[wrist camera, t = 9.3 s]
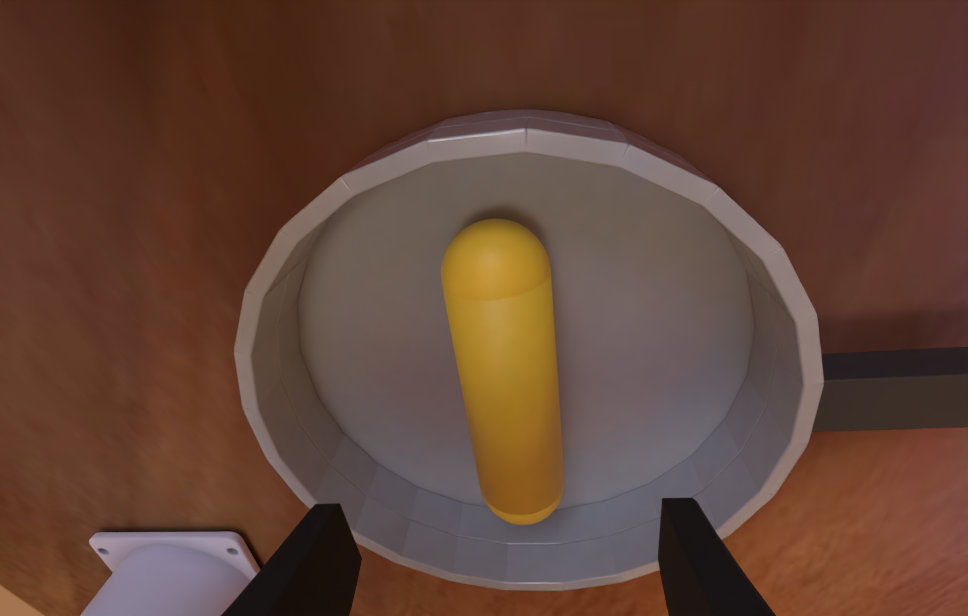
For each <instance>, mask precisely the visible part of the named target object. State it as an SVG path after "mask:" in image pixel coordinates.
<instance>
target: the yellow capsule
mask: <svg viewBox="0 0 968 616" xmlns="http://www.w3.org/2000/svg"><path fill="white" fill-rule="evenodd" d="M441 281H442V282H441V283H442V288H443V294H444V299H445V304H446V309H447V315H448V320H449V325H450V331H451V336H452V341H453V347H454V352H455V357H456V363H457V368H458V373H459V378H460V384H461V389H462V394H463V400H464V405H465V410H466V416H467V421H468V426H469V432H470V437H471V442H472V448H473V453H474V458H475V463H476V469H477V474H478V479H479V485H480V490H481V493H482V496H483V498H484V501H485V502H486V504H487V505H488V507H489V508H490V509H491V511H492V512H493V513H494V514H495V515H497V516H498V517H499V518H501V519H503V520H504V521H506V522H509V523H512V524H516V525H530V524H535V523H537V522H540V521H542V520H543V519H545V518H547V517H548V516H549V515H550V514H551V513H552V512H553V511H554V510H555V509H556V507H557V506H558V504H559V502H560V500H561V497H562V495H563V491H564V482H565V478H564V463H563V448H562V433H561V418H560V403H559V388H558V373H557V358H556V343H555V327H554V312H553V297H552V282H551V268H550V263H549V258H548V255H547V253H546V250H545V248H544V247H543V245H542V244H541V242H540V241H539V239H538V238H537V237H536V236H535V235H534V234H533V233H532V232H531V231H530V230H529V229H527V228H526V227H524V226H522V225H520V224H519V223H516V222H513V221H509V220H506V219H486V220H482V221H478V222H475V223H473V224H471V225H470V226H468V227H466V228H464V229H463V230H462V231H461V232H459V233H458V234H457V235H456V236H455V237H454V239H453V240H452V241H451V243H450V244H449V246H448V247H447V249H446V252H445V255H444V258H443V260H442V266H441Z"/></svg>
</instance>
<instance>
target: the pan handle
mask: <svg viewBox="0 0 968 616" xmlns="http://www.w3.org/2000/svg"><path fill="white" fill-rule="evenodd" d="M821 355H822V365H823V375H824V383H823V384H824V387H823V390H822V394H821V398H820V402H819V405H818V409H817V413H816V417H815V421H814V424H813V428H812V432H825V431H858V430H890V429H922V428H955V427H968V347H953V348H934V349H914V350H895V351H875V352H856V353H836V354H821Z"/></svg>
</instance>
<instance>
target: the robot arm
mask: <svg viewBox="0 0 968 616" xmlns="http://www.w3.org/2000/svg"><path fill="white" fill-rule="evenodd" d="M89 543H90V545H91V546H92V548H93V549H94V550H95V551H96V553H97V554H98V555H99V556H100V557H101V559H102V560H103V561H104V562H105V564H106V565H107V566H108V567H109V569H110V570H111V571H112V572H113V574H112V575H111V576H110V578H109V579H108V580H107V581H106V583H105V584H104V585H103V587H102V588H101V589H100V590H99V592H98V593H97V594H96V596H95V597H94V598H93V599H92V601H91V602H90V603H89V605H88V606H87V607H86V608H85V610H84V611H83V612H82V614H81V615H80V616H349V613H350V610H351V607H352V603H353V598H354V594H355V590H356V585H357V580H358V575H359V570H360V565H361V560H362V558H361V555H360V553H359V550H358V547H357V545H356V542H355V540H354V537H353V535H352V532H351V530H350V527H349V525H348V522H347V520H346V517H345V514H344V512H343V509H342V507H341V504H340V503H330V504H315V505H314V506H313V507H312V508H311V509H310V511H309V512H308V513H307V514H306V515H305V517H304V518H303V519H302V520H301V521H300V523H299V524H298V525H297V526H296V528H295V529H294V530H293V531H292V532H291V534H290V535H289V536H288V537H287V539H286V540H285V541H284V542H283V543H282V545H281V546H280V547H279V548H278V550H277V551H276V552H275V553H274V554H273V556H272V557H271V558H270V559H269V560H268V562H267V563H266V564H265V565H264V566H263V568H262V569H261V570H260V568H259V566H258V564H257V563H256V561H255V559H254V557H253V556H252V554H251V552H250V550H249V549H248V547H247V545H246V543H245V542H244V540H243V538H242V537H241V536H240V535H239V534H238V533H235V532H230V531H222V532H99V533H95V534H94V535H93V536H92V538H91V539H90V540H89ZM658 563H659V568H660V574H661V579H662V584H663V589H664V594H665V599H666V604H667V609H668V613H669V616H776V615H775V614H774V612H773V611H772V610H771V608H770V607H769V606H768V604H767V603H766V602H765V600H764V599H763V598H762V596H761V595H760V594H759V592H758V591H757V590H756V588H755V587H754V586H753V584H752V583H751V582H750V580H749V579H748V578H747V576H746V575H745V573H744V572H743V571H742V569H741V568H740V566H739V565H738V564H737V562H736V561H735V559H734V558H733V556H732V555H731V553H730V552H729V550H728V549H727V548H726V546H725V545H724V543H723V542H722V540H721V539H720V537H719V536H718V534H717V533H716V531H715V530H714V528H713V526H712V525H711V523H710V522H709V520H708V519H707V517H706V515H705V514H704V512H703V510H702V509H701V507H700V505H699V504H698V502H697V501H696V500H695V499H693V498H662V506H661V519H660V533H659V546H658Z"/></svg>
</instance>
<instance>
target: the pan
mask: <svg viewBox="0 0 968 616" xmlns="http://www.w3.org/2000/svg"><path fill="white" fill-rule="evenodd" d="M486 219H506V220H509V221H513V222H516V223H519V224H520V225H522V226H524V227H526V228H527V229H529V230H530V231H531V232H532V233H533V234H534V235H535V236H536V237H537V238H538V239H539V241H540V242H541V244H542V245H543V247H544V248H545V250H546V253H547V255H548V258H549V263H550V268H551V282H552V297H553V312H554V327H555V343H556V358H557V373H558V388H559V403H560V418H561V433H562V448H563V463H564V478H565V482H564V491H563V495H562V497H561V500H560V502H559V504H558V506H557V507H556V509H555V510H554V511H553V512H552V513H551V514H550V515H549V516H548V517H547V518H545V519H543V520H542V521H540V522H537V523H535V524H530V525H516V524H512V523H509V522H506V521H504V520H503V519H501V518H499V517H498V516H497V515H495V514H494V513H493V512H492V511H491V509H490V508H489V507H488V505H487V504H486V502H485V501H484V498H483V496H482V493H481V490H480V485H479V479H478V474H477V469H476V463H475V458H474V453H473V448H472V442H471V437H470V432H469V426H468V421H467V416H466V410H465V405H464V400H463V394H462V389H461V384H460V378H459V373H458V368H457V363H456V357H455V352H454V347H453V341H452V336H451V331H450V325H449V320H448V315H447V309H446V304H445V299H444V294H443V288H442V283H441V282H442V281H441V266H442V260H443V258H444V255H445V252H446V249H447V247H448V246H449V244H450V243H451V241H452V240H453V239H454V237H455V236H456V235H457V234H458V233H459V232H461V231H462V230H463V229H464V228H466V227H468V226H470V225H471V224H473V223H475V222H478V221H482V220H486ZM234 357H235V363H236V370H237V376H238V383H239V390H240V396H241V403H242V408H243V411H244V413H245V415H246V417H247V419H248V422H249V424H250V426H251V428H252V430H253V432H254V434H255V436H256V438H257V440H258V443H259V445H260V447H261V449H262V451H263V453H264V455H265V457H266V459H267V460H268V462H269V463H270V464H271V465H272V467H273V468H274V469H275V470H276V472H277V473H278V474H279V475H280V476H281V478H282V479H283V480H284V481H285V482H286V484H287V485H288V486H289V487H290V488H291V490H292V491H293V492H294V493H295V494H296V496H297V497H298V498H299V499H300V500H301V501H302V502H303V504H305V505H306V506H307V507H309V508H310V509H311V508H312V507H313V506H314V505H315V504H330V503H340V504H341V507H342V509H343V512H344V514H345V517H346V520H347V522H348V525H349V527H350V530H351V532H352V535H353V537H354V540H355V542H356V543H358V544H360V545H362V546H364V547H366V548H367V549H369V550H371V551H373V552H375V553H377V554H379V555H381V556H383V557H385V558H386V559H388V560H390V561H392V562H394V563H397V564H400V565H403V566H406V567H409V568H412V569H415V570H418V571H421V572H424V573H427V574H430V575H433V576H436V577H439V578H442V579H445V580H450V581H452V582H458V583H464V584H470V585H476V586H482V587H488V588H494V589H500V590H521V591H563V590H564V591H567V590H574V589H581V588H588V587H594V586H601V585H608V584H615V583H620V582H625V581H628V580H631V579H634V578H637V577H640V576H643V575H646V574H649V573H652V572H655V571H659V570H660V568H659V563H658V546H659V533H660V519H661V506H662V498H693V499H695V500H696V501H697V502H698V504H699V505H700V507H701V509H702V510H703V512H704V514H705V515H706V517H707V519H708V520H709V522H710V523H711V525H712V526H713V528H714V530H715V531H716V533H717V534H718V536H719V537H720V539H721V540H723V539H724V538H726V537H728V536H729V535H731V534H732V533H733V532H734V531H736V530H737V529H738V528H739V527H740V526H741V525H742V524H743V523H745V522H746V521H747V520H748V519H749V518H750V517H751V516H752V515H754V514H755V513H756V512H757V511H758V510H759V509H760V508H761V507H763V506H764V505H765V504H766V503H767V502H768V501H769V500H770V499H772V498H773V497H774V495H775V494H776V493H777V491H778V490H779V488H780V487H781V485H782V484H783V482H784V481H785V479H786V478H787V476H788V475H789V473H790V472H791V470H792V469H793V467H794V465H795V464H796V462H797V461H798V459H799V458H800V456H801V455H802V453H803V452H804V450H805V449H806V447H807V444H808V443H809V439H810V436H811V432H812V428H813V424H814V421H815V417H816V413H817V409H818V405H819V402H820V398H821V394H822V390H823V387H824V384H823V383H824V375H823V365H822V355H821V346H820V336H819V326H818V316H817V313H816V311H815V309H814V307H813V305H812V303H811V301H810V299H809V297H808V295H807V293H806V291H805V289H804V287H803V285H802V283H801V281H800V279H799V277H798V275H797V274H796V272H795V270H794V268H793V266H792V264H791V262H790V260H789V258H788V256H787V254H786V252H785V250H784V248H783V247H782V246H781V244H780V243H779V242H778V241H777V240H776V239H775V238H773V237H772V236H771V235H770V234H769V233H768V232H767V231H766V230H765V229H764V228H763V227H762V226H761V225H760V224H758V223H757V222H756V221H755V220H754V219H753V218H752V217H751V216H750V215H749V214H748V213H747V212H746V211H745V210H743V209H742V208H741V207H740V206H739V205H738V204H737V203H736V202H735V201H734V200H733V199H732V198H731V197H730V196H729V195H727V194H726V193H725V192H724V191H723V190H722V189H721V188H720V187H719V186H717V185H716V184H715V183H714V182H713V181H711V180H710V179H709V178H708V177H706V176H705V175H704V174H703V173H701V172H700V171H699V170H698V169H696V168H695V167H694V166H693V165H691V164H690V163H689V162H688V161H687V160H685V159H684V158H683V157H682V156H680V155H679V154H677V153H675V152H673V151H671V150H668V149H666V148H664V147H662V146H660V145H658V144H656V143H654V142H652V141H651V140H649V139H647V138H645V137H644V136H642V135H639V134H637V133H634V132H632V131H629V130H627V129H624V128H622V127H620V126H618V125H616V124H614V123H612V122H607V121H605V120H599V119H593V118H589V117H585V116H580V115H576V114H572V113H567V112H556V111H544V110H535V109H518V110H502V111H487V112H482V113H477V114H472V115H467V116H462V117H454V118H449V119H448V120H447V119H445V120H443V121H440V122H438V123H436V124H433V125H431V126H428V127H425V128H423V129H420V130H417V131H415V132H413V133H411V134H409V135H407V136H405V137H403V138H401V139H399V140H396V141H394V142H392V143H390V144H387V145H385V146H383V147H380V148H379V149H378V150H376V151H374V152H373V153H372V154H370V155H369V156H368V157H366V158H365V159H363V160H362V161H361V162H359V163H358V164H357V165H355V166H354V167H353V168H351V169H350V170H348V171H347V172H346V173H344V174H343V175H342V176H340V177H339V178H338V179H337V180H336V181H334V182H333V183H332V184H331V185H330V186H329V187H327V188H326V189H325V190H324V191H323V192H322V193H320V194H319V195H318V196H317V197H316V198H315V199H313V200H312V201H311V202H310V203H309V204H308V205H307V206H305V207H304V208H303V209H302V210H301V211H300V212H298V213H297V214H296V215H295V216H294V217H293V218H291V219H290V220H289V221H288V222H287V223H286V224H284V225H283V226H282V227H281V229H280V230H279V231H278V233H277V234H276V236H275V238H274V240H273V241H272V243H271V245H270V247H269V248H268V250H267V252H266V253H265V255H264V257H263V259H262V260H261V262H260V264H259V266H258V267H257V269H256V271H255V272H254V274H253V276H252V278H251V279H250V281H249V283H248V285H247V286H246V290H245V291H244V297H243V302H242V308H241V313H240V319H239V325H238V330H237V336H236V341H235V347H234Z"/></svg>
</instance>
